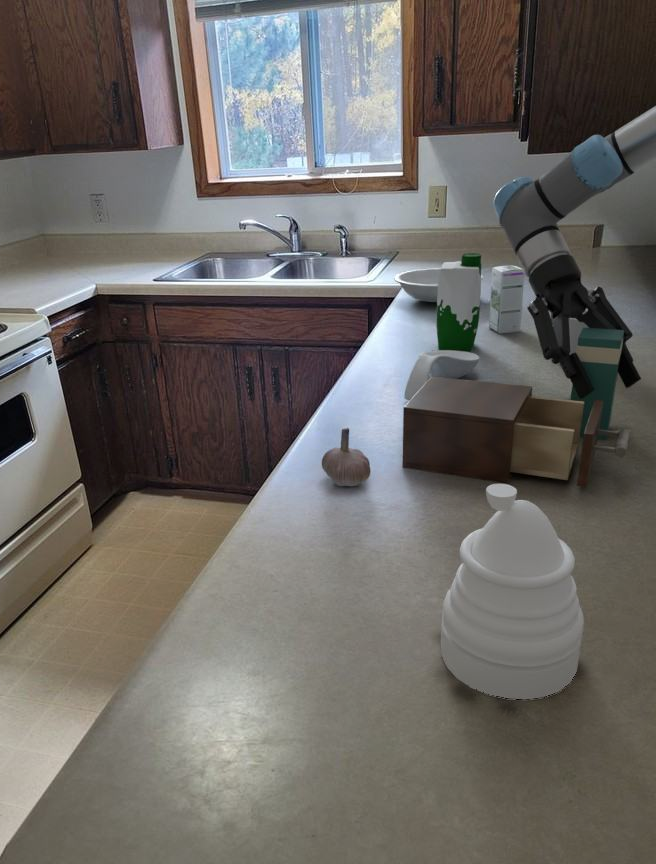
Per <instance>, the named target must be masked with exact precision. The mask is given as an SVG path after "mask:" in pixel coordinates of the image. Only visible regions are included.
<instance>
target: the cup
mask: <svg viewBox="0 0 656 864" xmlns="http://www.w3.org/2000/svg"><path fill="white" fill-rule="evenodd" d="M587 311H588V310H585V311H584V312H583V313H582V314H585V313H586V312H587ZM583 328H589V327H588V326H587V325H586V324H585V323H584V322H579V321H578V320H577V319H576V318H569V332H570V353H569V354H570V355H571V354H572V353H576V349H577V344H578V337H579V335H580V333H581V331H582V329H583Z"/></svg>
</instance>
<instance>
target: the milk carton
mask: <svg viewBox="0 0 656 864" xmlns="http://www.w3.org/2000/svg"><path fill="white" fill-rule="evenodd" d="M460 259H461V261H459V260H458V261H457V260H456V261H444V262H443V264H442V265H441V266H440V267H439V268H440V275H439V282H438V297H437V302H436V325H435V326H436V338H437V347H438V350H452V351H464V352H470V353H473V352H472V351H473V348H474V346H475V341H476V336H477V333H478V328H479V322H480V313H481V311H480V310H481V295H482V280H481V274H482V254H480V253H476V252H475V253H474V252H468V253H463V254H461V258H460Z"/></svg>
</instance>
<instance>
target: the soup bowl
mask: <svg viewBox="0 0 656 864" xmlns="http://www.w3.org/2000/svg"><path fill="white" fill-rule="evenodd" d="M440 268H441V267H438V268H437V267H434V268H431V267H430V268H421V269H419V268H418V269H413V270H412V269H411V270H408V271H402V272H400V273H398V274H396V275H395V276H394V278H393V279H394V281H395V282H396V283H398V284H400V286H401V288H402V290H403V291H404V292H405V293H406V294H407V295H408V296H410V297H411V298H413V299H415V300H418V301H422V302H427V303H428V302H429V303H437V297H438V282H439V275H440ZM483 279H484V275H483V273H481V281H483Z"/></svg>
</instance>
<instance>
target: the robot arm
mask: <svg viewBox="0 0 656 864" xmlns="http://www.w3.org/2000/svg"><path fill="white" fill-rule="evenodd" d="M654 162H656V105H654V106H653V107H651V108H650V109H649V110H647V111H645V112H643V113H642V114H640V115H639V116H637V117H635V118H634V119H632V120H631V121H629V122H628V123H626V124H624V125H623V126H621V127H620V128H618V129H617V130H615V131H614V132H612V133H609V134H608V135H607V136H605V137H603V136H602V135H601V134H593V135H591V136H590V137H589V138H587V139H586V140H585V141H583V142H581V143H580V144H577V145H576V146H575V147H574V148H573V150H572V151H571V152H570V153H568V154H567V155H565V156H564V157H563V158H562V159H561V160H560V161H558V162H557V163H556V164H554V166H552V167H551V168H550V169H549V170H547V171H546V172H545V173H544V174H542V175H541V176H540V177H538V178H537V179H535V180H534V179H533V178H532V177H529V176H520V177H517V178H515V179H513V180H512V181H510V182H507V183H505V184H504V185H503V186H502V187H500V189H498V191H497V192H496V194H495V195H494V198H493V202H492V205H493V209H494V212H495V215H496V217H497V219H498V223H499V226H500V227H501V229H502V230H503V232H504V235H505V237H506V238H507V240H508V242H509V244H510V246H511V248H512V249H513V251H514V254H515V256H516V258H517V260H518V262H519V264H520V266H521V268H522V269H523V270H524V275H525V276H526V277H527V278H528V283H529V285H530V287H531V289H532V291H533V293H534V295H535V298H534V299H533V300H532V301H531V302H530V303H529V304H528V305H527V307H526V309H527V311H528V313H529V314H530V315H531V317H532V319H533V322H534V326H535V331H536V334H537V337H538V341H539V345H540V349H541V351H542V355H543V358H544V360H547V361H549V360H551V362H552V364H554V365H558V364H559V365H560V367H561V369H562V371H563V373H564V376H565V377H566V378H567V380H568V379H569V380H570V382H571V384H573V386H574V388H575V390H576V392H577V394H578V396H579V398H580V399H581V398H584V397H586V396H587V395H588V394H590V393H591V392H592V391H594V388H593V386H592V384H591V382H590V380H589V377H588V375H587V373H586V371H585V369H584V367H583V365H582V363H581V361H580V359H579V357H578V355H577V353H572V354H571V355H570V354H569V353H570V332H569V318H576V319H577V320H578V321H579V322H584V323H585V324H586V325H587V326H588V327H589V328H599V329H614V330H624V335H623V344H622V350H621V355H620V361H619V367H618V376H619V377H620V379H621V381H622V383H623V385H624V387H625V389H628V388H631V387H632V386H633V385H635V384H636V383H637V382H639V381H640V380H642V377H641V376H640V374H639V372H638V370H637V368H636V366H635V364H634V358H633V356H632V354H631V351H630V350H629V349H628V346H627V341H629V340H631V338H632V337H633V336H634V335H633V332H632V331H631V329H630V328H629V327H628V326H627V324H626V323H625V322H624V320H623V319H622V318H621V316H620V315H619V313H618V312H617V311H616V309H615V308H614V307H613V305H612V304H611V303H610V301H609V300H608V299H607V296H606V294H605V291H604V288H602V287H601V286H597V287H596V288H595V289H594V290H593V289H587V287H585V286H584V285H583V284H582V272H581V271H582V270H581V269H580V268H579V266H578V263H577V261H576V259H575V258H574V256H573V255H571V254H572V253H571V250H570V248H569V246H568V244H567V241H566V240H565V238H564V235H563V234H562V232H561V231H560V229H559V227H558V224H557V223H559V222H560V221H561V220H563V219H564V218H565V217H567V216H568V215H569V214H571V213H572V212H574V211H575V210H576V209H578V208H579V207H580V206H582V205H583V204H584V203H586V202H587V201H589V200H590V199H592V198H593V197H595V196H597V195H599V194H602V193H603V192H606V191H607V190H609V189H611V188H613V187H614V186H615V185H616V184H618V183H621V182H623V180H625V179H628V178H629V177H630V176H632V175H633V174H635V173H637V172H638V171H640V170H642V169H644V168H645V167H647V166H649V165H650V164H652V163H654ZM584 311H587V312H586V313H585V314H582V313H583V312H584Z"/></svg>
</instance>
